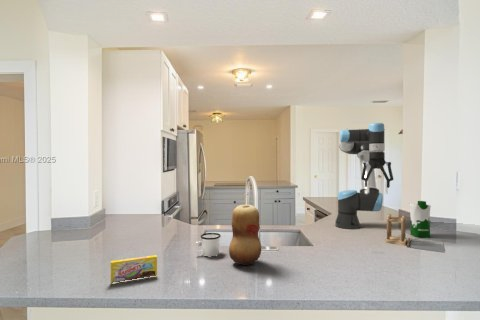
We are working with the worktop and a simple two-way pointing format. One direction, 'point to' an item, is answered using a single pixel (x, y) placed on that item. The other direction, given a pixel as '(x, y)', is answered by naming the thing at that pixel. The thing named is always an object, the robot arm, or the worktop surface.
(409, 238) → the strip
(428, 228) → the milk carton
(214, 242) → the mug
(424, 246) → the mat
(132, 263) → the candy box
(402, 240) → the stool
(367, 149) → the robot arm
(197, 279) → the worktop surface
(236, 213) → the butternut squash
